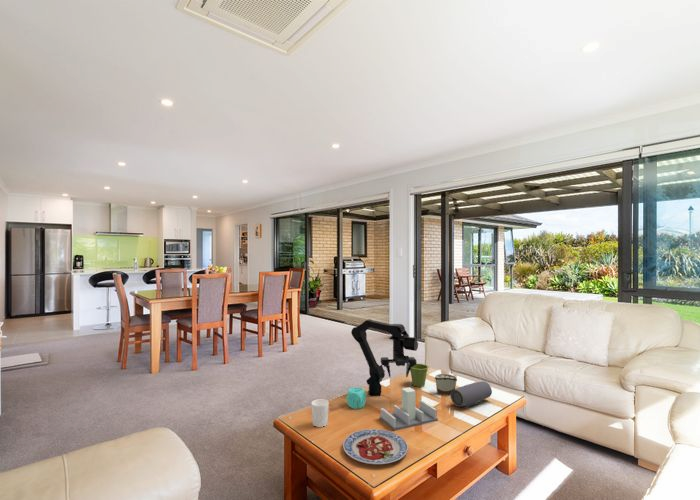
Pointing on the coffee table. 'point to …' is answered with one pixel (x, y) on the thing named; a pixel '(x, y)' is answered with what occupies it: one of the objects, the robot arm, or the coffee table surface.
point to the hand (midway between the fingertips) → (398, 377)
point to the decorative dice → (356, 397)
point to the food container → (445, 384)
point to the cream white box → (409, 402)
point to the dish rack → (403, 419)
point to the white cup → (320, 412)
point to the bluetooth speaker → (471, 394)
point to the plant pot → (419, 374)
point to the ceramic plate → (375, 446)
